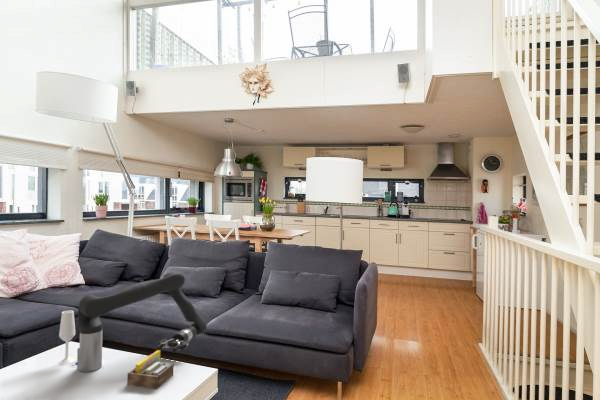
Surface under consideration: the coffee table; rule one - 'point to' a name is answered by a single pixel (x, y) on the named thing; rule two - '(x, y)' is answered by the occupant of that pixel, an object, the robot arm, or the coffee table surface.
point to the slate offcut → (159, 370)
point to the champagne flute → (67, 332)
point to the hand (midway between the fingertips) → (165, 349)
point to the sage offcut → (152, 367)
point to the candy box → (148, 361)
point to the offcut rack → (150, 377)
